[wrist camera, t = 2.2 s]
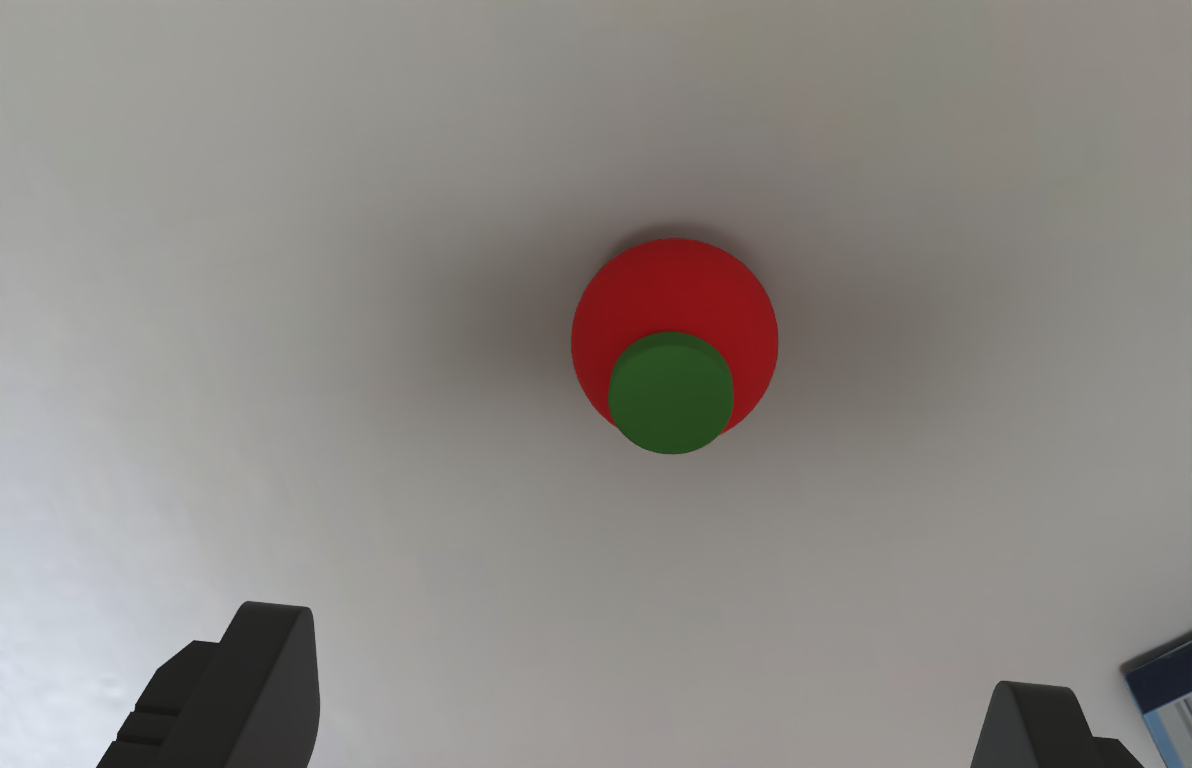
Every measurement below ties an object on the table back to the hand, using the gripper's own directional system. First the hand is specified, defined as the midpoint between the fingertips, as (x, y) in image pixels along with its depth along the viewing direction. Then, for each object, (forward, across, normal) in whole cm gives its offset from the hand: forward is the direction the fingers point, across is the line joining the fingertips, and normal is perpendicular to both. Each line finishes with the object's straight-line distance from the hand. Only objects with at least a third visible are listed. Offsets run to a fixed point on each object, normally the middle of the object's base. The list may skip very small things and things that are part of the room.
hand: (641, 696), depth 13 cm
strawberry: (+12, 0, 0) cm, 12 cm away
